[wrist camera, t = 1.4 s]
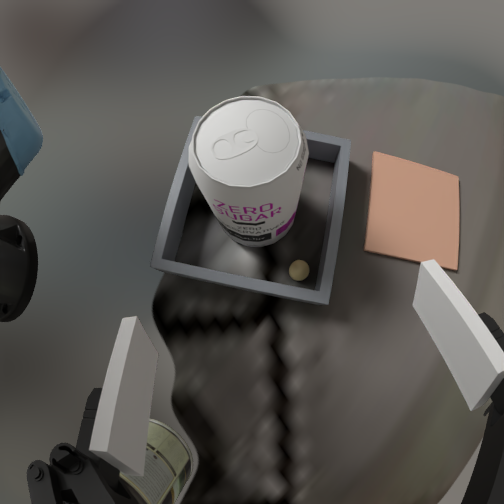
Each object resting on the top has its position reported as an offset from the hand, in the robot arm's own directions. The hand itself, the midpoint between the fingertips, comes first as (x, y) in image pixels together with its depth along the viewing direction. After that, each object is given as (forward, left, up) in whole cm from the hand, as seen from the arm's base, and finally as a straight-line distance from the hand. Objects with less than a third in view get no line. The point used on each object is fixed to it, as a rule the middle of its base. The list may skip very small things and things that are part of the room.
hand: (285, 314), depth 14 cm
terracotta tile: (+14, +14, -18) cm, 27 cm away
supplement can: (-4, +10, -18) cm, 21 cm away
